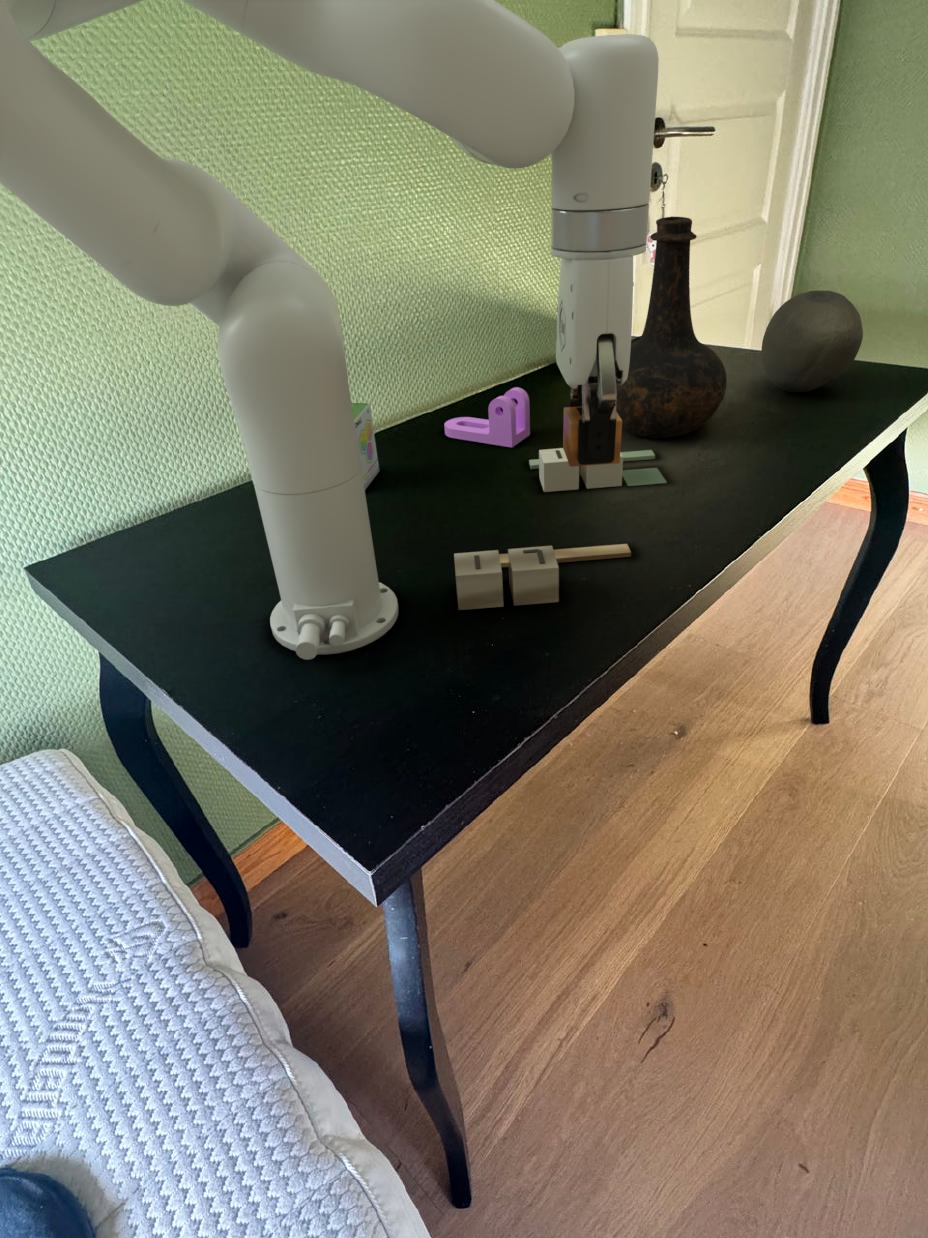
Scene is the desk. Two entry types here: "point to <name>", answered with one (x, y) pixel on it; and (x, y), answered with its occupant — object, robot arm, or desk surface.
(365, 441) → the ink box
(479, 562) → the front word
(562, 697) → the desk surface
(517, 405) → the bracket
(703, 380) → the brown bottle
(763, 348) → the dark grey rounded piece
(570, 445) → the orange-brown block
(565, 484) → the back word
